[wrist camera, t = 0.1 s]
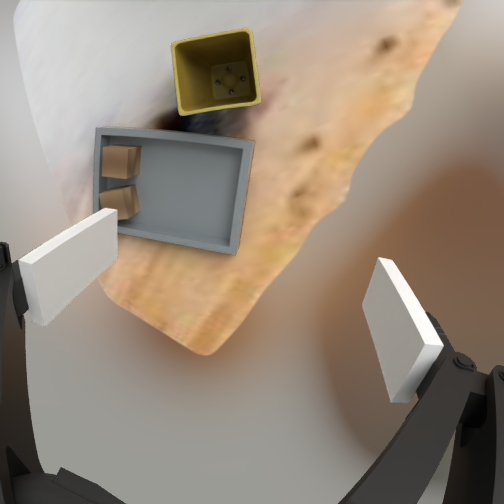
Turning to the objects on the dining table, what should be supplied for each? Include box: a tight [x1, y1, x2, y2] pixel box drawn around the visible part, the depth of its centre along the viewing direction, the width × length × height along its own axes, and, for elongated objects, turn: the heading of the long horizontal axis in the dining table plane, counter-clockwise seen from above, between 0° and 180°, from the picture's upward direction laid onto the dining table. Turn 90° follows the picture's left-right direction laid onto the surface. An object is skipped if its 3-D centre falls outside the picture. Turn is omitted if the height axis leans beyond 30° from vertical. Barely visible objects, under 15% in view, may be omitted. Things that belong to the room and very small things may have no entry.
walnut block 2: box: [99, 184, 140, 220], centre depth 42 cm, size 4×4×4 cm
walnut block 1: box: [102, 144, 142, 179], centre depth 39 cm, size 4×4×4 cm
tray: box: [93, 127, 255, 255], centre depth 41 cm, size 15×22×3 cm
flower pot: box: [171, 28, 261, 116], centre depth 32 cm, size 9×9×9 cm
